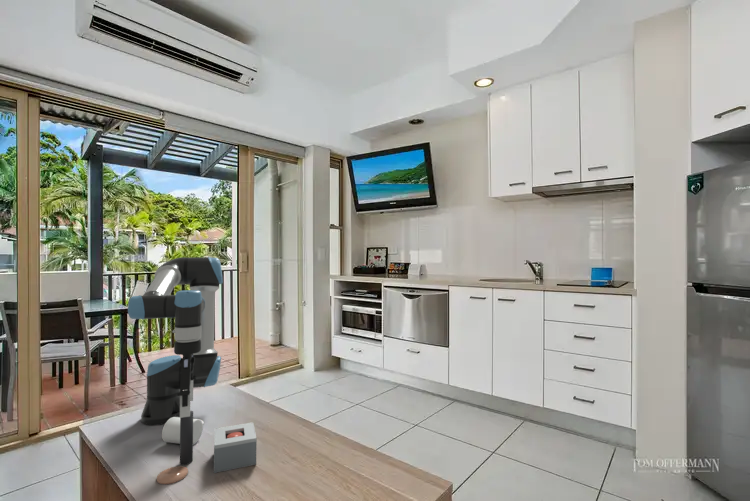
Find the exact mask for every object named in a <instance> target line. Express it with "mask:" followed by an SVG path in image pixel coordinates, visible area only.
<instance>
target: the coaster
mask: <svg viewBox="0 0 750 501" xmlns="http://www.w3.org/2000/svg"><path fill="white" fill-rule="evenodd" d="M188 474H189V469H188V467H186V466H184V465H179V466H173V467H168V468H166V469H163V470H162V471H161V472H159V473H158V475H157V477H156V482H157V483H158V484H161V485H171V484H175V483H177V482H181V481H182V480H184V478H186V477H188Z"/></svg>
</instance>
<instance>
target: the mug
mask: <svg viewBox="0 0 750 501" xmlns="http://www.w3.org/2000/svg"><path fill="white" fill-rule="evenodd" d="M204 424H205V422H204V420H202V419H199V418H193V446H195V444H196V443H197V442H198V441H199V440H200V439H201V437H202V434H203V429H204ZM161 438H162V441H163V442H165V443H169V444H179V445H180V417H172V418H170V419H169V420H168V421H167V422H166V423H165V424H164V425H163V427H162V431H161Z"/></svg>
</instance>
